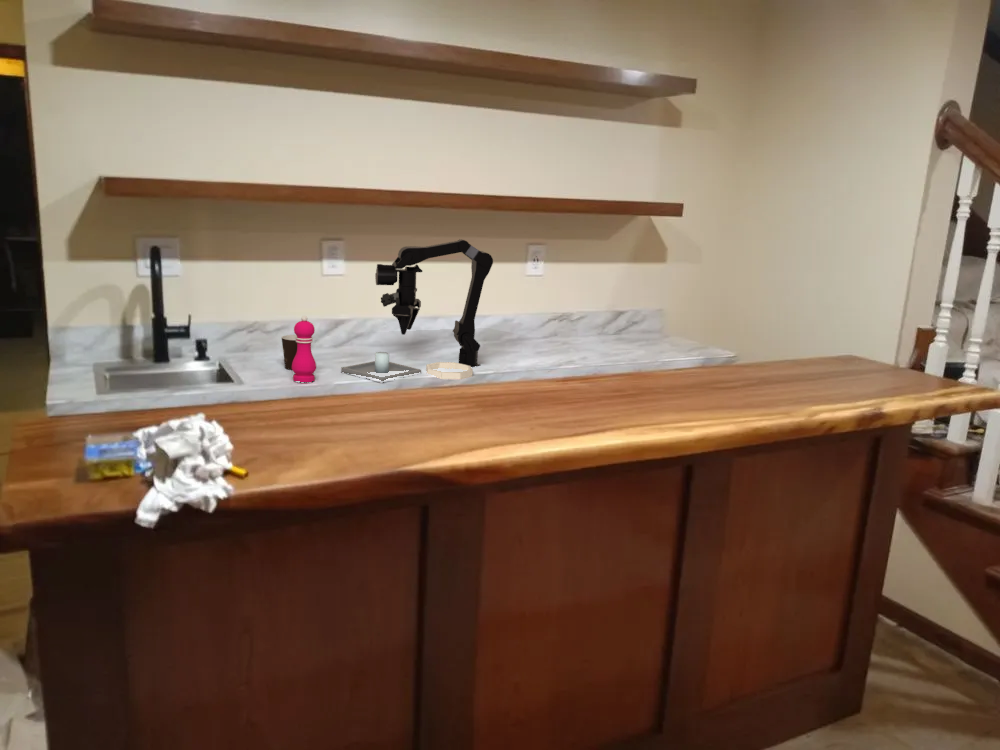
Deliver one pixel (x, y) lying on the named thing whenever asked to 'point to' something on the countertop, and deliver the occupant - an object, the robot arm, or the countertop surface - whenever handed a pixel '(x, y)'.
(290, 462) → the countertop surface
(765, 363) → the countertop surface
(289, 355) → the coffee mug
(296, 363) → the pepper mill
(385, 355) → the peg
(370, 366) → the tray
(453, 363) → the bowl
